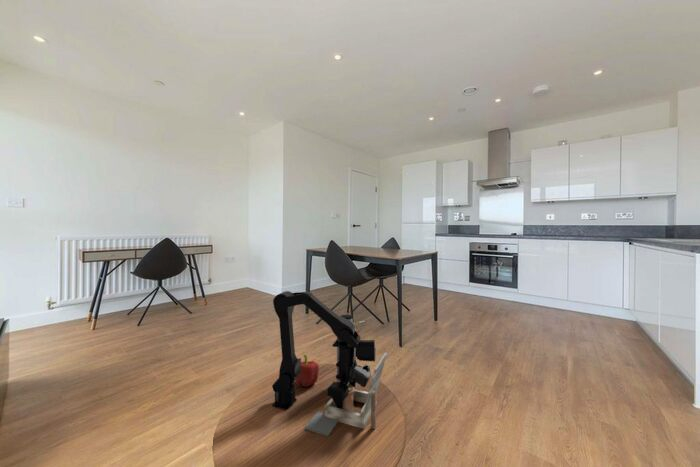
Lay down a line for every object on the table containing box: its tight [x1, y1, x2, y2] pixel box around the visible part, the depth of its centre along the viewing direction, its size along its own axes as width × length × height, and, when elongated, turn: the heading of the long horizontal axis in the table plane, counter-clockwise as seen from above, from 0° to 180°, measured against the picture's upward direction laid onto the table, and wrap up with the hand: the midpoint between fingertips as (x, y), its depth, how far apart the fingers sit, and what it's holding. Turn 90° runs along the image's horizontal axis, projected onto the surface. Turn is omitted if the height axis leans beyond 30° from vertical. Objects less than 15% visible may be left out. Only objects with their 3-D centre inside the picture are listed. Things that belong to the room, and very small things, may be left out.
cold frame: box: [323, 352, 388, 430], centre depth 91 cm, size 18×14×19 cm
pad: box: [304, 412, 339, 437], centre depth 84 cm, size 8×8×1 cm
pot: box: [343, 385, 354, 412], centre depth 92 cm, size 6×6×7 cm
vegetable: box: [294, 354, 320, 387], centre depth 110 cm, size 11×10×10 cm
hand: (346, 404), depth 92 cm, fingers open, 9 cm apart
